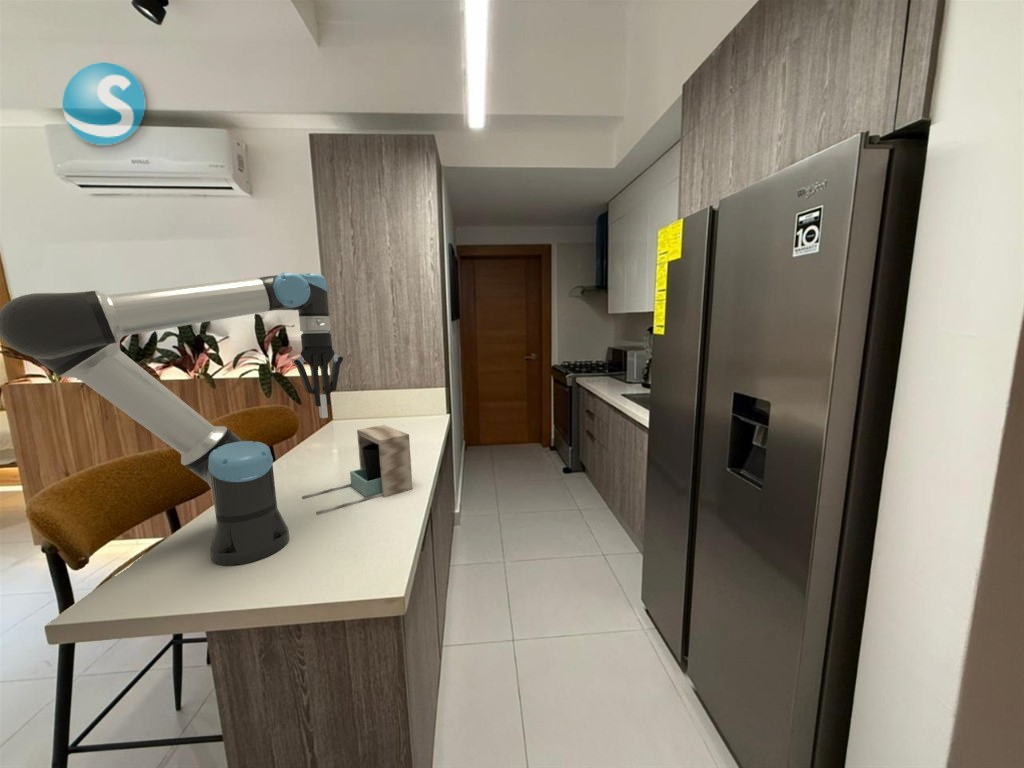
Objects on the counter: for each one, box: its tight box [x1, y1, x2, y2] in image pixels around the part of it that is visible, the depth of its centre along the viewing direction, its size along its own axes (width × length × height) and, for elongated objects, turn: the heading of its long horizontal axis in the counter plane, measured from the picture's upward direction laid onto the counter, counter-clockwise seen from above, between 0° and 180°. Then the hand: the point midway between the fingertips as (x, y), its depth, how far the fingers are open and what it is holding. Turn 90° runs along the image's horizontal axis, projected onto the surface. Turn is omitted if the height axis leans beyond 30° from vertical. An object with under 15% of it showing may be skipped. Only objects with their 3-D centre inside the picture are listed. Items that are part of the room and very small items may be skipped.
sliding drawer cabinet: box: [301, 424, 414, 515], centre depth 124 cm, size 27×18×17 cm, turn 130°
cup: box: [362, 444, 381, 481], centre depth 128 cm, size 8×8×12 cm
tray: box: [349, 468, 382, 498], centre depth 129 cm, size 12×13×5 cm
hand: (323, 417), depth 117 cm, fingers closed
